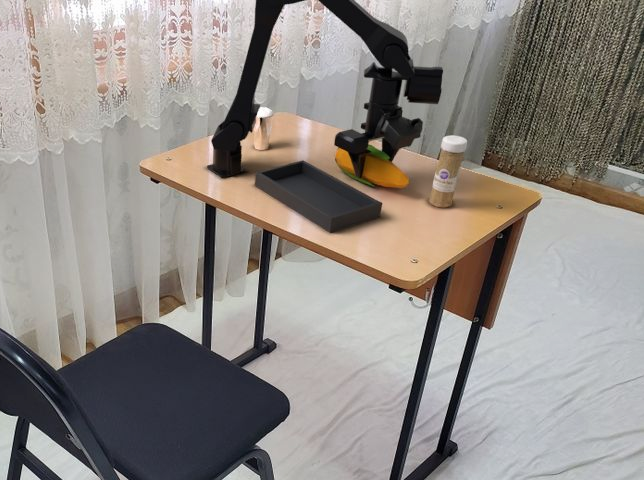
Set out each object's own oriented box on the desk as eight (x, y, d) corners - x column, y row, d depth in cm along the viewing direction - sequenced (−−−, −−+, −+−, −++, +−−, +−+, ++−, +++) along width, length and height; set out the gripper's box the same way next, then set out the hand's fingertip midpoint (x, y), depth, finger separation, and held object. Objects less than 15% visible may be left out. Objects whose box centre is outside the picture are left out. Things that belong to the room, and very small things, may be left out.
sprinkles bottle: (427, 206, 147) (441, 141, 139) (430, 197, 151) (444, 133, 143) (451, 210, 146) (466, 144, 138) (453, 200, 149) (468, 136, 141)
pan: (254, 185, 155) (255, 172, 154) (301, 173, 160) (303, 160, 159) (329, 232, 138) (331, 218, 137) (380, 217, 143) (382, 203, 142)
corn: (353, 129, 160) (425, 158, 147) (350, 162, 165) (419, 193, 152) (328, 138, 157) (399, 169, 144) (325, 171, 162) (394, 204, 149)
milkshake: (246, 144, 174) (249, 102, 168) (268, 143, 174) (272, 101, 168) (250, 151, 170) (252, 108, 164) (273, 150, 171) (276, 107, 165)
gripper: (376, 120, 137) (364, 198, 146) (448, 104, 144) (431, 178, 154) (337, 103, 144) (327, 178, 154) (407, 88, 152) (393, 160, 161)
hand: (371, 174), depth 155 cm, fingers closed on corn, 7 cm apart
